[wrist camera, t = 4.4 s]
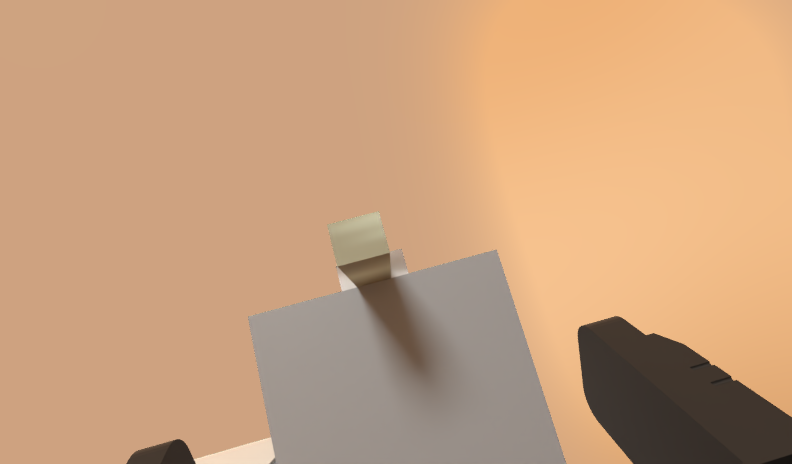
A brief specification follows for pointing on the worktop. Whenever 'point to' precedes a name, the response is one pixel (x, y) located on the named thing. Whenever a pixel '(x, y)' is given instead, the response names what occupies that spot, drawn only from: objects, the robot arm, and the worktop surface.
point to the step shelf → (401, 375)
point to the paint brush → (364, 252)
